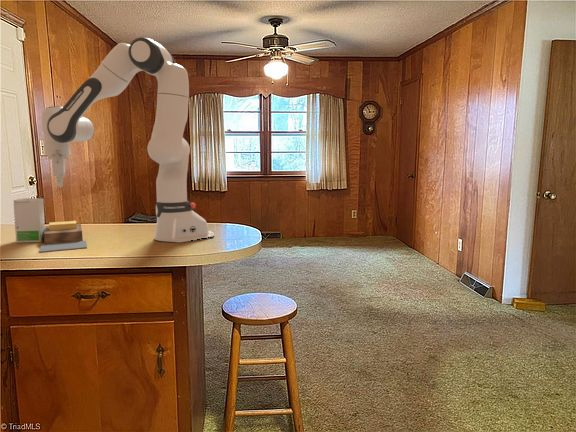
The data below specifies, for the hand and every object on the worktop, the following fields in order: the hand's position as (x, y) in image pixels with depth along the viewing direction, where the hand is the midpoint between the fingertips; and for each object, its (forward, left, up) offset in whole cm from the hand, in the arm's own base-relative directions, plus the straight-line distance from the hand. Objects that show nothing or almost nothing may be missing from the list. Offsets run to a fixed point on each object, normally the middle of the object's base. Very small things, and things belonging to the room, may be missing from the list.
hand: (60, 186), depth 158 cm
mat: (0, +23, -19) cm, 29 cm away
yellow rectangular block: (0, +8, -15) cm, 17 cm away
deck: (0, +9, -19) cm, 21 cm away
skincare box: (+10, +7, -19) cm, 23 cm away
